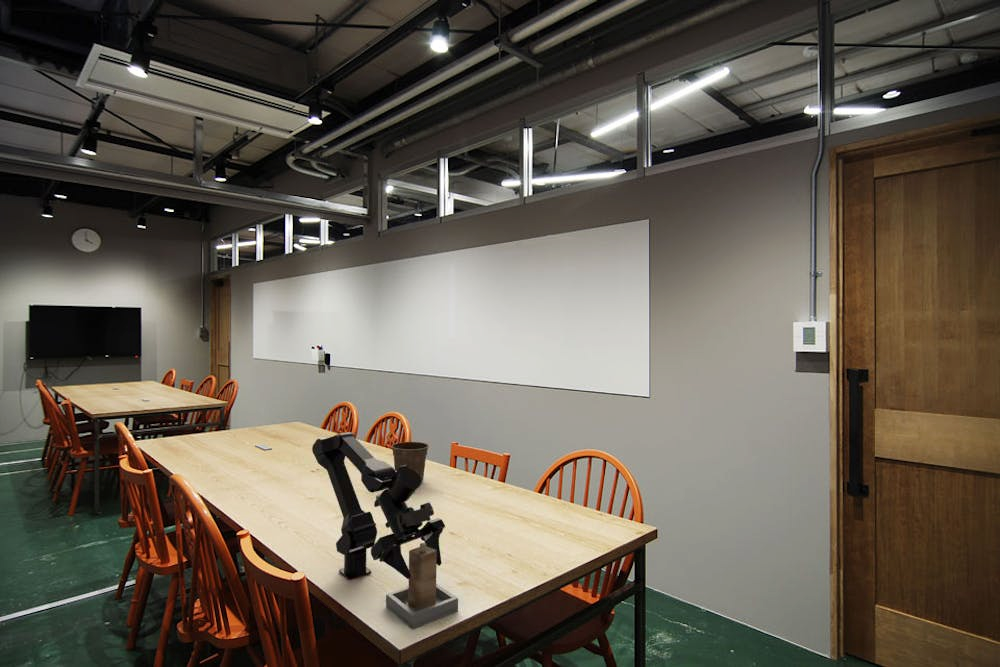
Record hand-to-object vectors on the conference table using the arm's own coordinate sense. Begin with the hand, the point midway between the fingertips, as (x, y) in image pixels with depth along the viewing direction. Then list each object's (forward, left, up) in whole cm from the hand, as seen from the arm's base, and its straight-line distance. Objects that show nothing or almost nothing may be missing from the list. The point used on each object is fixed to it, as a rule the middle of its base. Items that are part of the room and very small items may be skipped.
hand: (425, 571), depth 117 cm
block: (-1, 0, -8) cm, 8 cm away
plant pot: (-95, +52, -9) cm, 109 cm away
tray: (-1, 0, -9) cm, 9 cm away
